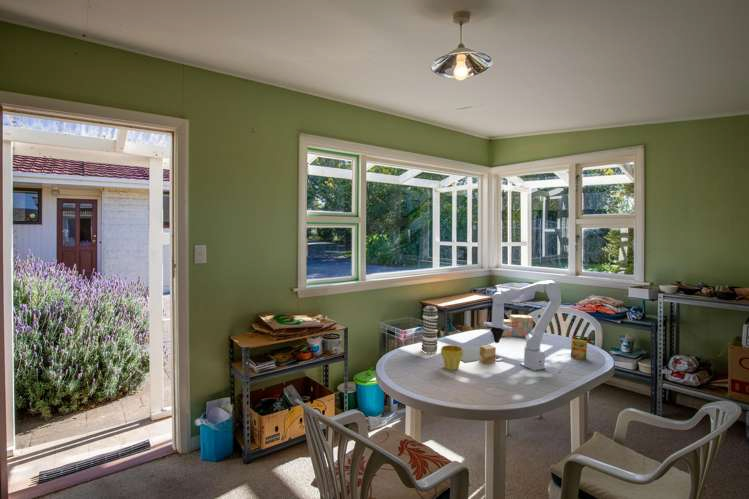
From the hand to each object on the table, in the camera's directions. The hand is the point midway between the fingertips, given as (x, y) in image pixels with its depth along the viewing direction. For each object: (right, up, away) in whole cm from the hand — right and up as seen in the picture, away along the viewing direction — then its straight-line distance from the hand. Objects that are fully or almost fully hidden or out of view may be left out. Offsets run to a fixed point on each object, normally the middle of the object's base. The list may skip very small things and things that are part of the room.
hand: (497, 342), depth 213 cm
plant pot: (-24, -11, -7) cm, 28 cm away
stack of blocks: (+25, -7, +50) cm, 56 cm away
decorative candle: (-32, -9, +16) cm, 37 cm away
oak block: (-5, -10, +1) cm, 11 cm away
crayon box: (+46, -10, +8) cm, 47 cm away
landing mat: (-10, -9, +13) cm, 18 cm away
